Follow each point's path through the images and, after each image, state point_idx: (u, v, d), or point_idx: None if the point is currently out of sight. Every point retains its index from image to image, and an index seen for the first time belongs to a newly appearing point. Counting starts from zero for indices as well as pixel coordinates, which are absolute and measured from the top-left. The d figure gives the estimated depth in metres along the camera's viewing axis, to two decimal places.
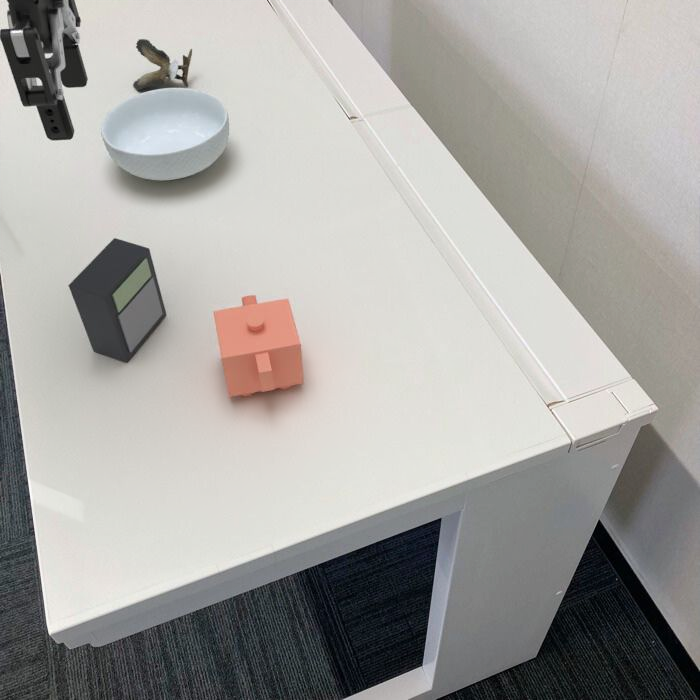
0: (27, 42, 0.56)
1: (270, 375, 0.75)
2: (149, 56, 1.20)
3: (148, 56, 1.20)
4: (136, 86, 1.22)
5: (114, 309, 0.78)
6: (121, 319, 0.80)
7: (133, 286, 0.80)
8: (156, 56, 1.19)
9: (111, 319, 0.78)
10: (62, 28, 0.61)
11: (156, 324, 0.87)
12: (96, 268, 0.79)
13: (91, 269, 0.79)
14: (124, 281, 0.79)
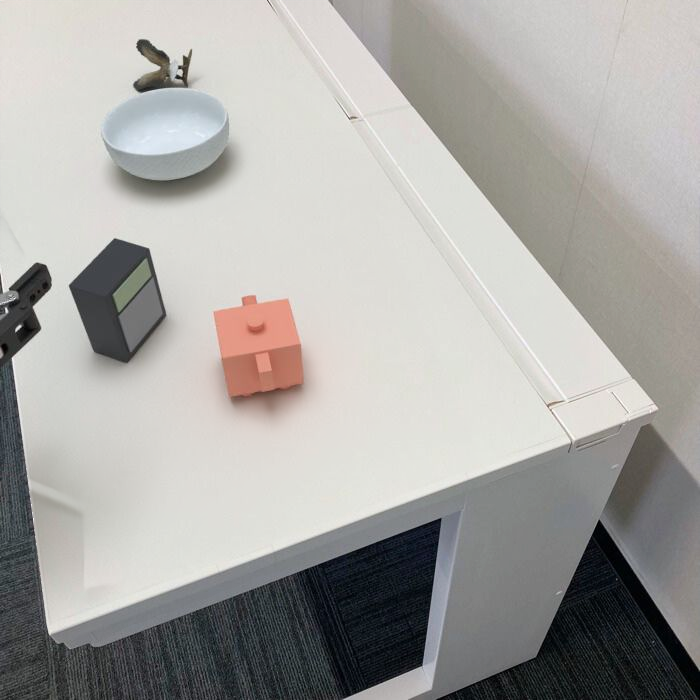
0: None
1: (270, 375, 0.75)
2: (149, 56, 1.20)
3: (148, 56, 1.20)
4: (136, 86, 1.22)
5: (114, 310, 0.78)
6: (121, 319, 0.80)
7: (133, 286, 0.80)
8: (156, 56, 1.19)
9: (111, 319, 0.78)
10: None
11: (156, 324, 0.87)
12: (96, 268, 0.79)
13: (91, 269, 0.79)
14: (124, 281, 0.79)
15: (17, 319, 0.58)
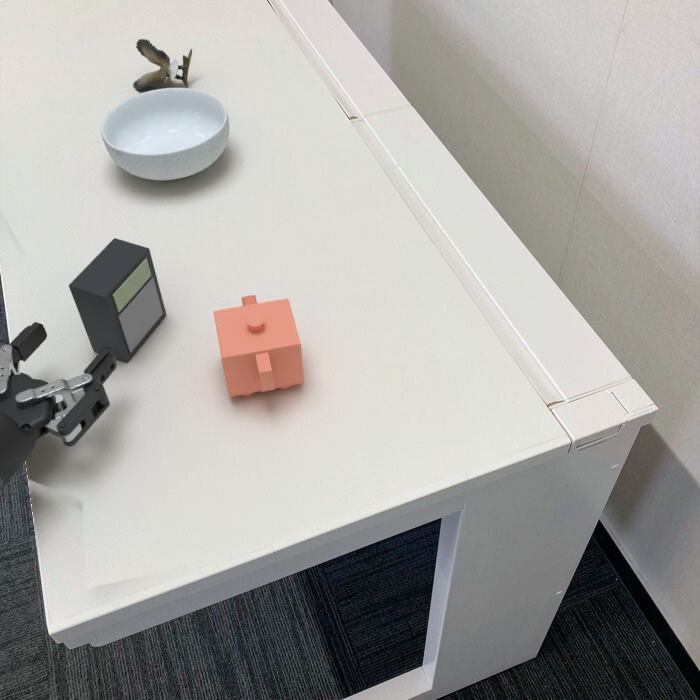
0: None
1: (270, 375, 0.75)
2: (149, 56, 1.20)
3: (148, 56, 1.20)
4: (136, 86, 1.22)
5: (114, 309, 0.78)
6: (121, 319, 0.80)
7: (133, 286, 0.80)
8: (156, 56, 1.19)
9: (111, 319, 0.78)
10: None
11: (156, 324, 0.87)
12: (96, 268, 0.79)
13: (91, 269, 0.79)
14: (124, 281, 0.79)
15: (92, 400, 0.71)
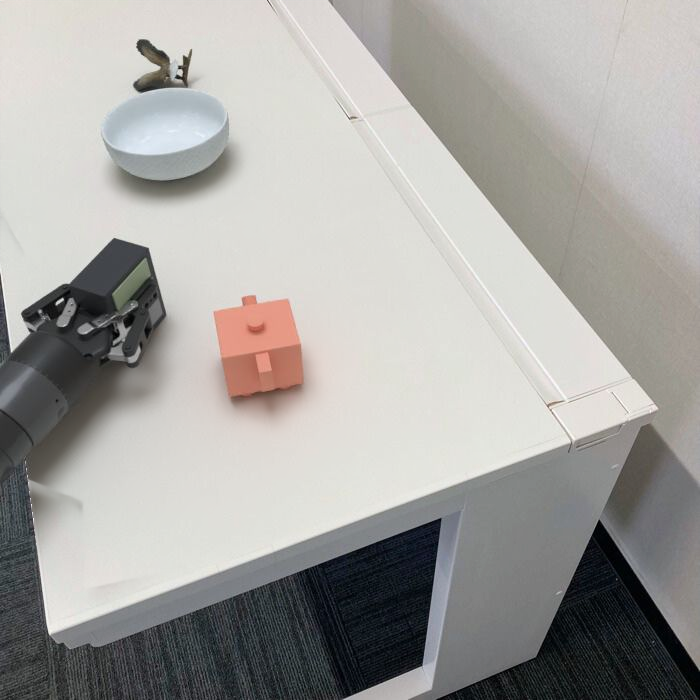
0: None
1: (270, 375, 0.75)
2: (149, 56, 1.20)
3: (148, 56, 1.20)
4: (136, 86, 1.22)
5: (114, 309, 0.78)
6: None
7: (133, 285, 0.80)
8: (156, 56, 1.19)
9: None
10: None
11: (156, 324, 0.87)
12: (95, 268, 0.79)
13: (90, 269, 0.79)
14: (123, 281, 0.79)
15: (143, 322, 0.78)
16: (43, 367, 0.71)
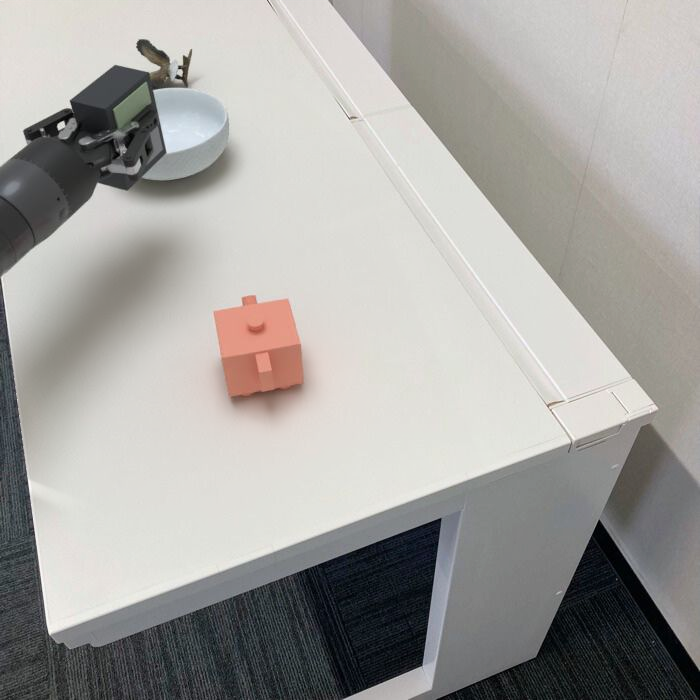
0: None
1: (270, 375, 0.75)
2: (149, 56, 1.20)
3: (148, 56, 1.20)
4: None
5: (115, 127, 0.79)
6: None
7: (133, 107, 0.81)
8: (156, 56, 1.19)
9: None
10: None
11: (156, 159, 0.88)
12: (97, 87, 0.80)
13: (92, 88, 0.80)
14: (124, 99, 0.80)
15: (144, 138, 0.79)
16: (45, 165, 0.72)
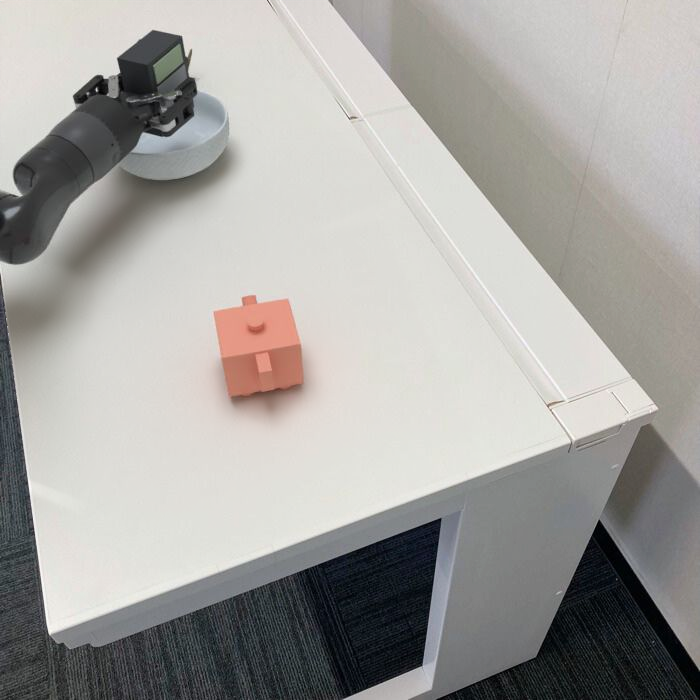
0: None
1: (270, 375, 0.75)
2: None
3: None
4: None
5: (154, 81, 0.95)
6: None
7: (169, 65, 0.96)
8: None
9: (151, 88, 0.95)
10: None
11: None
12: (139, 47, 0.95)
13: (134, 48, 0.95)
14: (162, 57, 0.95)
15: (183, 103, 0.94)
16: (101, 116, 0.88)
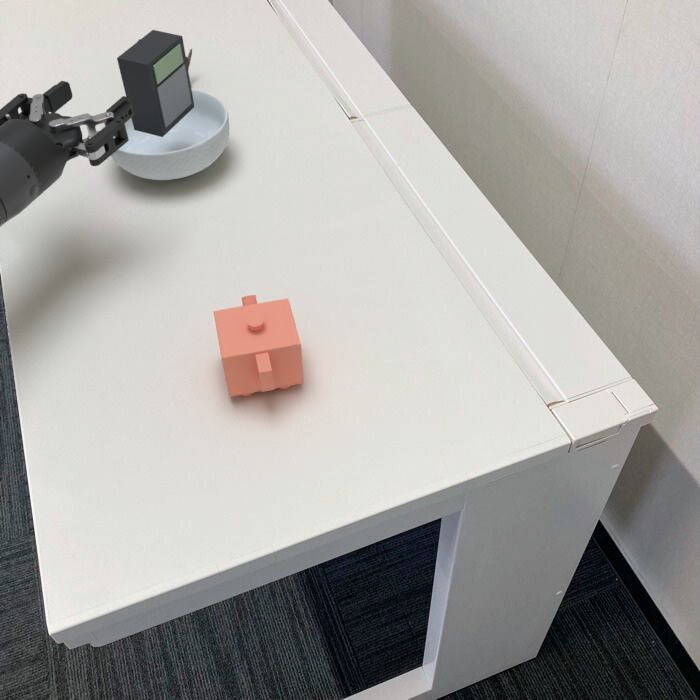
0: None
1: (270, 375, 0.75)
2: None
3: None
4: None
5: (154, 81, 0.95)
6: (159, 92, 0.96)
7: (169, 65, 0.96)
8: None
9: (151, 88, 0.95)
10: None
11: (186, 112, 1.03)
12: (139, 47, 0.95)
13: (135, 48, 0.95)
14: (162, 58, 0.95)
15: (114, 128, 0.83)
16: (16, 145, 0.77)
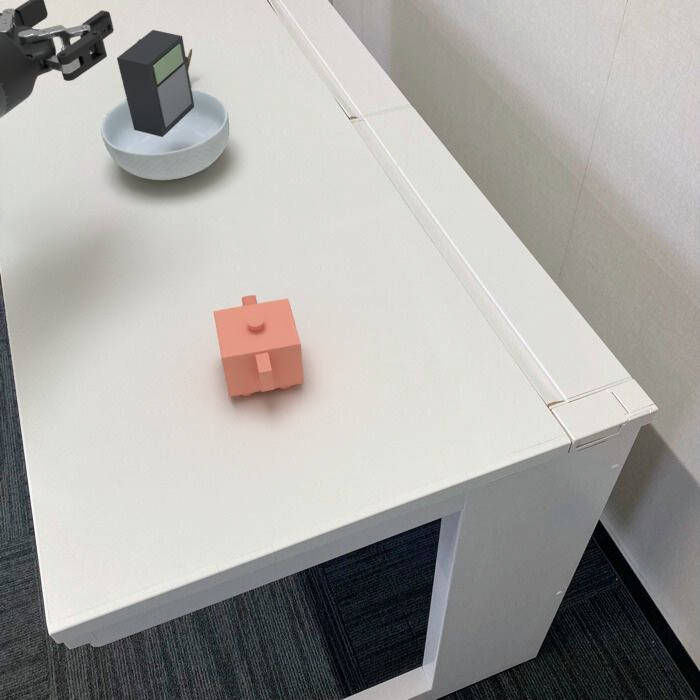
0: None
1: (270, 375, 0.75)
2: None
3: None
4: None
5: (154, 81, 0.95)
6: (159, 92, 0.96)
7: (169, 65, 0.96)
8: None
9: (151, 88, 0.95)
10: None
11: (186, 112, 1.03)
12: (139, 47, 0.95)
13: (135, 48, 0.95)
14: (162, 58, 0.95)
15: (90, 39, 0.76)
16: None
